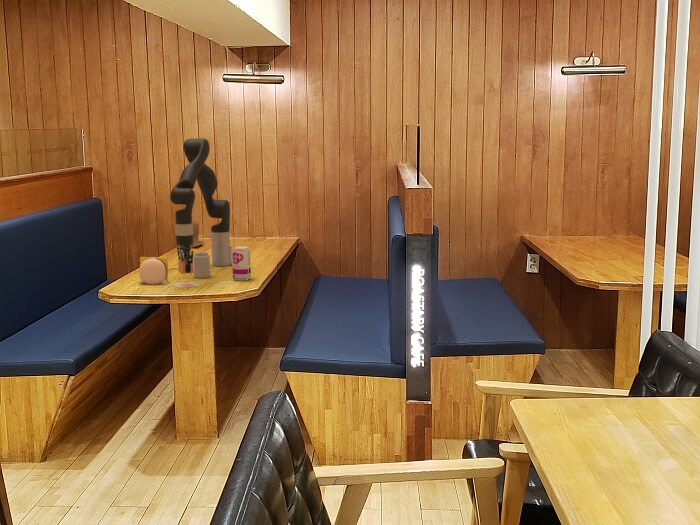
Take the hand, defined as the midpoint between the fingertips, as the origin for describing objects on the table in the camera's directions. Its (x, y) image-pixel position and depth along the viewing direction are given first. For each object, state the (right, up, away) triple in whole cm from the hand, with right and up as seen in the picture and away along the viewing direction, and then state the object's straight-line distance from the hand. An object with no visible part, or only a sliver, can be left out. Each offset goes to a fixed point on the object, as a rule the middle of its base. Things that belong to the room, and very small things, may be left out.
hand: (185, 271), depth 348 cm
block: (0, 0, 0) cm, 0 cm away
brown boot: (-20, +13, +113) cm, 116 cm away
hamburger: (-15, -6, +4) cm, 17 cm away
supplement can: (+23, -4, +15) cm, 28 cm away
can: (+4, -4, +18) cm, 19 cm away
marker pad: (0, -6, +1) cm, 6 cm away
